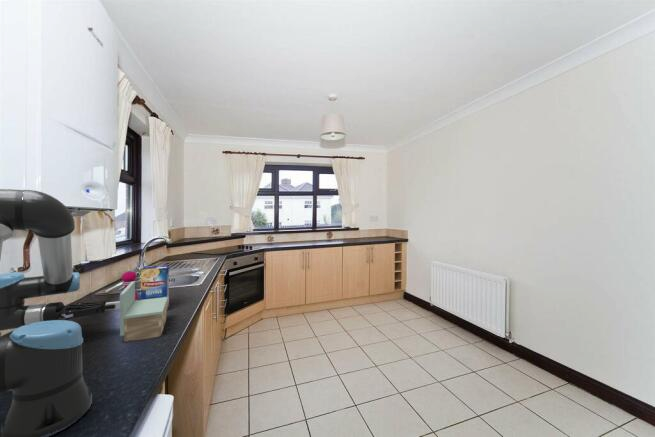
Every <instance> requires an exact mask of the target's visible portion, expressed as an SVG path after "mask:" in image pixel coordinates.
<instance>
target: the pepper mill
mask: <svg viewBox="0 0 655 437" xmlns="http://www.w3.org/2000/svg"><path fill="white" fill-rule="evenodd" d="M136 279H137V273H136V272H135V271H132V269H131V268H128V269H127V270H126V272H124V273H123V274H122V276H121V280H122V281H123V282H122V285H123V286H124V288H123V290H124V289H125V288H126V287H127V286H128V285H129V284H130V283H131V282H133V281H135V282H136ZM138 296H139V295H138V293H137V291H136V290H135V301H136V300H139V297H138Z"/></svg>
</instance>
